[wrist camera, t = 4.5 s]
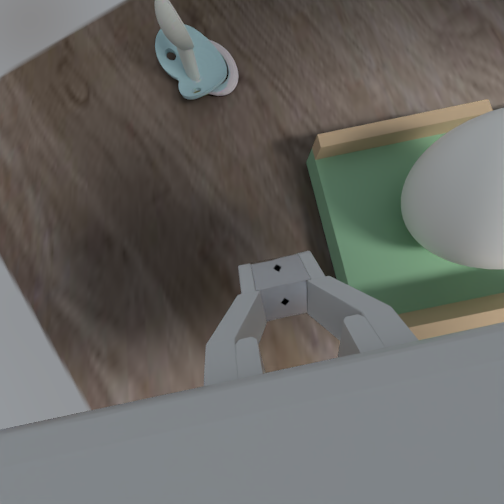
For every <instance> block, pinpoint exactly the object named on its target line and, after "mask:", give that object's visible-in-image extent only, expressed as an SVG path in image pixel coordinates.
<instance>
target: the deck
mask: <svg viewBox="0 0 504 504" xmlns="http://www.w3.org/2000/svg"><path fill="white" fill-rule="evenodd" d="M490 111H493V109H492V107H491V105H490V102H489V100H488V99H486V100H481V101H477V102H472V103H467V104H462V105H457V106H452V107H448V108H443V109H438V110H433V111H428V112H423V113H418V114H414V115H409V116H404V117H399V118H394V119H389V120H385V121H380V122H375V123H370V124H365V125H360V126H356V127H351V128H346V129H341V130H336V131H331V132H327V133H322V134H317V137H316V139H315V142H314V144H313V147H312V149H311V152H310V154H309V157H308V159H307V162H306V164H307V168H308V171H309V175H310V179H311V183H312V187H313V191H314V194H315V198H316V202H317V206H318V210H319V214H320V218H321V221H322V225H323V229H324V233H325V237H326V241H327V244H328V248H329V252H330V256H331V260H332V264H333V267H334V271H335V275H336V279H337V280H339V281H341V282H343V283H345V284H347V285H349V286H351V287H353V288H355V289H357V290H359V291H361V292H363V293H365V294H367V295H369V296H371V297H373V298H375V299H377V300H379V301H381V302H383V303H385V304H387V305H389V306H391V307H392V308H393V310H394V311H395V312H396V313H397V314H398V316H399V317H400V318H401V319H402V320H403V322H404V323H405V324H406V325H407V327H408V328H409V329H410V330H411V331H412V333H413V334H414V335H415V336H416V337H417V339H418V340H423V339H427V338H432V337H437V336H441V335H446V334H451V333H455V332H460V331H465V330H469V329H474V328H479V327H483V326H488V325H493V324H497V323H502V322H504V269H482V268H474V267H468V266H464V265H460V264H456V263H453V262H450V261H447V260H445V259H443V258H440V257H438V256H436V255H435V254H433V253H431V252H429V251H428V250H427V249H425V248H424V247H423V246H422V245H420V244H419V243H418V242H417V241H416V240H415V239H414V238H413V236H412V235H411V234H410V232H409V231H408V229H407V227H406V225H405V223H404V220H403V217H402V212H401V194H402V189H403V186H404V183H405V180H406V178H407V176H408V174H409V172H410V170H411V168H412V167H413V165H414V164H415V162H416V161H417V160H418V159H419V157H420V156H421V155H422V154H423V153H424V152H425V151H426V150H427V149H428V148H429V147H430V146H431V145H432V144H433V143H434V142H435V141H437V140H438V139H439V138H440V137H442V136H443V135H445V134H446V133H447V132H449V131H450V130H452V129H454V128H455V127H457V126H459V125H461V124H463V123H464V122H466V121H468V120H470V119H473V118H475V117H478V116H480V115H482V114H485V113H487V112H490Z"/></svg>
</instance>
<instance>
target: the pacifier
mask: <svg viewBox="0 0 504 504" xmlns="http://www.w3.org/2000/svg"><path fill="white" fill-rule="evenodd" d="M155 13H156V17H157V20H158V23H159V25H160V28H161V29H160V30H159V32H158V34H157V36H156V41H155V49H156V55H157V58H158V60H159V62H160V64H161V65H162V67H163V68H164V70H165V71H166V72H167V73H168V74H169V75H170V76H171V77H173V78H174V79H176V80H178V81H179V91H180V93H181V94H182V96H183V97H184V98H186V99H196V98H199V97H202V96H204V95H207V94H211V95H215V96H224V95H227V94H230V93H231V92H232V91H233V90H234V89H235V87H236V85H237V83H238V77H239V76H238V69H237V66H236V63H235V61H234V59H233V58H232V56H231V55H230V53H229V52H228V51H227V50H226V49H225V48H224V47H222V46H221V45H220V44H218V43H216V42H214V41H212V40H208V39H207V38H206V37H205V36H204V35H202V34H201V33H200V32H199V31H197V30H196V29H195V28H192V27H190V26H189V25H185V24H183V22H182V20H181V18H180V17H179V15H178V13H177V12H176V10H175V9H174V7H173V6H172V4H171V3H170V1H169V0H155ZM168 52H172V53H174V54H175V55H176V59H175V60H169V59H168V58H167V53H168ZM227 70H228V72H229V74H228V78H227V80H226V81H225V82H224V83H223V84H221V83H222V82H223V81H224V80H225V78H226V76H227Z"/></svg>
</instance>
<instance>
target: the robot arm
mask: <svg viewBox="0 0 504 504" xmlns="http://www.w3.org/2000/svg"><path fill="white" fill-rule="evenodd" d="M238 270H239V279H240V287H241V294H240V295H237V297H236V298H235V300H234V302H233V303H232V305H231V306H230V308H229V310H228V311H227V313H226V314H225V316H224V317H223V319H222V321H221V322H220V324H219V325H218V327H217V329H216V330H215V332H214V333H213V335H212V336H211V338H210V340H209V341H208V343H207V344H206V353H205V372H204V386H203V387H198V388H194V389H189V390H184V391H179V392H175V393H170V394H165V395H161V396H156V397H151V398H147V399H142V400H137V401H133V402H128V403H123V404H119V405H114V406H109V407H105V408H100V409H95V410H91V411H86V412H81V413H76V414H72V415H67V416H63V417H58V418H53V419H48V420H44V421H39V422H34V423H29V424H25V425H20V426H15V427H11V428H6V429H1V430H0V504H504V322H502V323H497V324H493V325H488V326H483V327H479V328H474V329H469V330H465V331H460V332H455V333H451V334H446V335H441V336H437V337H432V338H427V339H423V340H418V339H417V337H416V336H415V335H414V334H413V333H412V331H411V330H410V329H409V328H408V327H407V325H406V324H405V323H404V322H403V320H402V319H401V318H400V317H399V316H398V314H397V313H396V312H395V311H394V310H393V308H392V307H391V306H389V305H387V304H385V303H383V302H381V301H379V300H377V299H375V298H373V297H371V296H369V295H367V294H365V293H363V292H361V291H359V290H357V289H355V288H353V287H351V286H349V285H347V284H345V283H343V282H341V281H339V280H337V279H335V278H333V277H331V276H325V275H324V273H323V271H322V270H321V268H320V266H319V265H318V263H317V262H316V260H315V258H314V257H313V255H312V253H311V252H310V251H305V252H301V253H297V254H293V255H288V256H284V257H279V258H275V259H269V260H264V261H258V262H253V263H251V264H250V263H248V264H243V265H239V266H238ZM303 313H308V314H309V315H310V316H311V317H312V318H313V319H315V320H316V321H317V322H318V323H319V324H321V325H322V326H323V327H324V328H325V329H327V330H328V331H329V332H330V333H331V334H333V335H334V336H335V337H336V338H337V339H339V340H340V346H339V352H338V358H333V359H329V360H324V361H319V362H315V363H310V364H306V365H301V366H296V367H292V368H287V369H282V370H278V371H273V372H268V373H266V372H265V368H264V364H263V361H262V357H261V353H260V349H259V346H258V345H259V342H260V339H261V337H262V334H263V331H264V328H265V326H266V323H267V322H266V321H270V320H274V319H278V318H283V317H287V316H292V315H298V314H303Z"/></svg>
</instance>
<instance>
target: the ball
mask: <svg viewBox="0 0 504 504" xmlns="http://www.w3.org/2000/svg"><path fill="white" fill-rule="evenodd" d="M401 212H402V217H403V220H404V223H405V225H406V227H407V229H408V231H409V232H410V234H411V235H412V236H413V238H414V239H415V240H416V241H417V242H418V243H419V244H420V245H422V246H423V247H424V248H425V249H427V250H428V251H429V252H431V253H433V254H435V255H436V256H438V257H440V258H443V259H445V260H447V261H450V262H453V263H456V264H460V265H464V266H468V267H474V268H482V269H504V108H500V109H497V110H493V111H490V112H487V113H485V114H482V115H480V116H478V117H475V118H473V119H470V120H468V121H466V122H464V123H463V124H461V125H459V126H457V127H455V128H454V129H452V130H450V131H449V132H447V133H446V134H445V135H443V136H442V137H440V138H439V139H438V140H437V141H435V142H434V143H433V144H432V145H431V146H430V147H429V148H428V149H427V150H426V151H425V152H424V153H423V154H422V155H421V156H420V157H419V159H418V160H417V161H416V162H415V164H414V165H413V167H412V168H411V170H410V172H409V174H408V176H407V178H406V180H405V183H404V186H403V189H402V194H401Z"/></svg>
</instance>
